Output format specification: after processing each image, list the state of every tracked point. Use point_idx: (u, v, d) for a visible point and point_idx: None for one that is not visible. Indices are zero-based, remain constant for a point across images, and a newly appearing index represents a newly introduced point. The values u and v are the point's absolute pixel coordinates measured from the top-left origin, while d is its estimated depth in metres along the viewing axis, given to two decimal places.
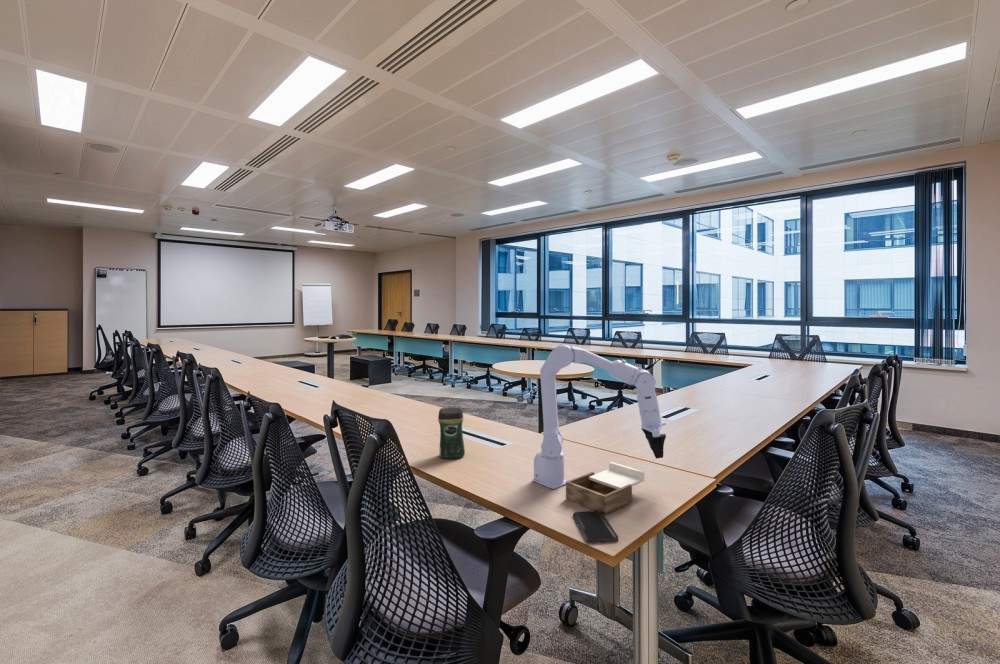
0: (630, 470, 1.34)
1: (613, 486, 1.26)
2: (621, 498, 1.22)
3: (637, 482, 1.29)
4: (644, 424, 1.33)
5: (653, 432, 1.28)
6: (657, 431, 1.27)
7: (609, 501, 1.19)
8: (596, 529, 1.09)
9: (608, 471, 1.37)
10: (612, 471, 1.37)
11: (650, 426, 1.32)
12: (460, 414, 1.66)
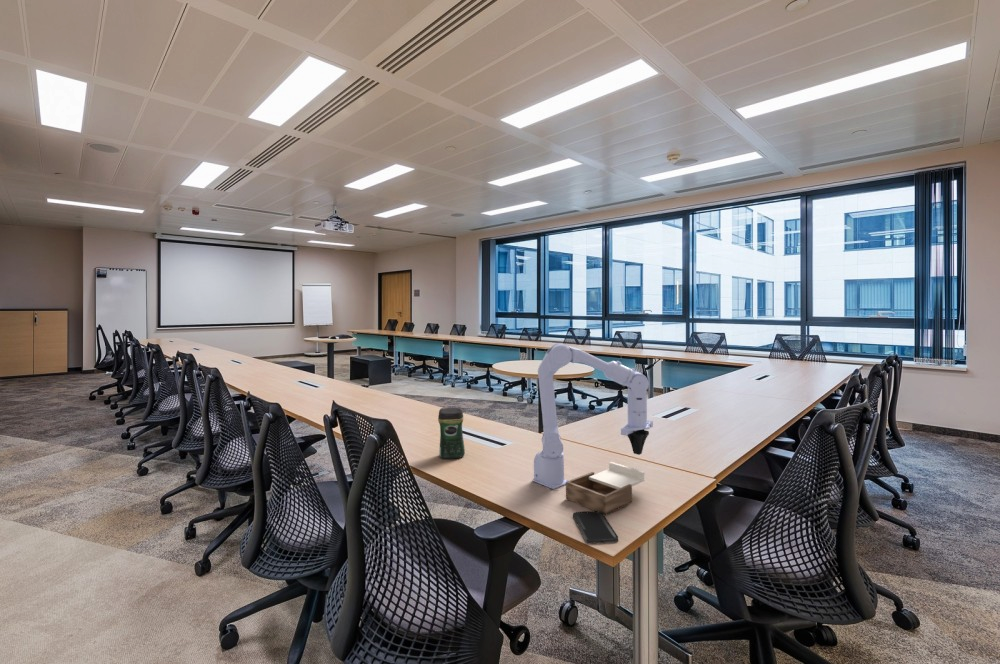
0: (630, 470, 1.34)
1: (613, 486, 1.26)
2: (621, 498, 1.22)
3: (637, 482, 1.29)
4: None
5: (621, 430, 1.34)
6: (624, 430, 1.34)
7: (609, 501, 1.19)
8: (596, 529, 1.09)
9: (608, 471, 1.37)
10: (612, 471, 1.37)
11: (629, 425, 1.37)
12: (460, 414, 1.66)
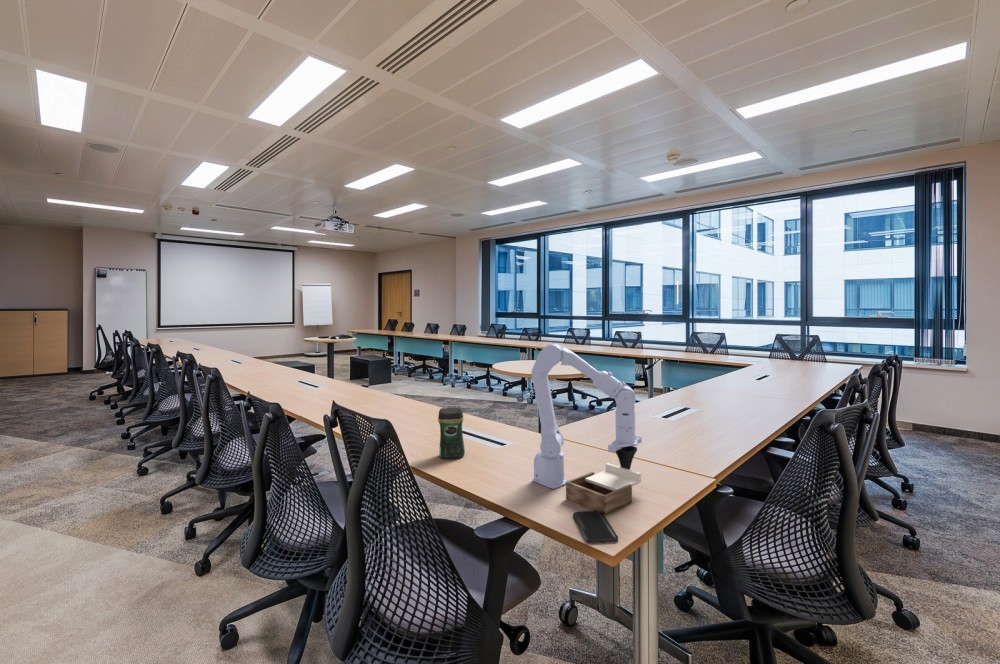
0: (627, 471, 1.32)
1: (609, 488, 1.25)
2: (621, 498, 1.22)
3: (634, 484, 1.28)
4: None
5: (608, 446, 1.31)
6: (612, 447, 1.30)
7: (609, 501, 1.19)
8: (596, 529, 1.09)
9: (605, 472, 1.36)
10: (609, 472, 1.36)
11: (617, 441, 1.34)
12: (460, 414, 1.66)
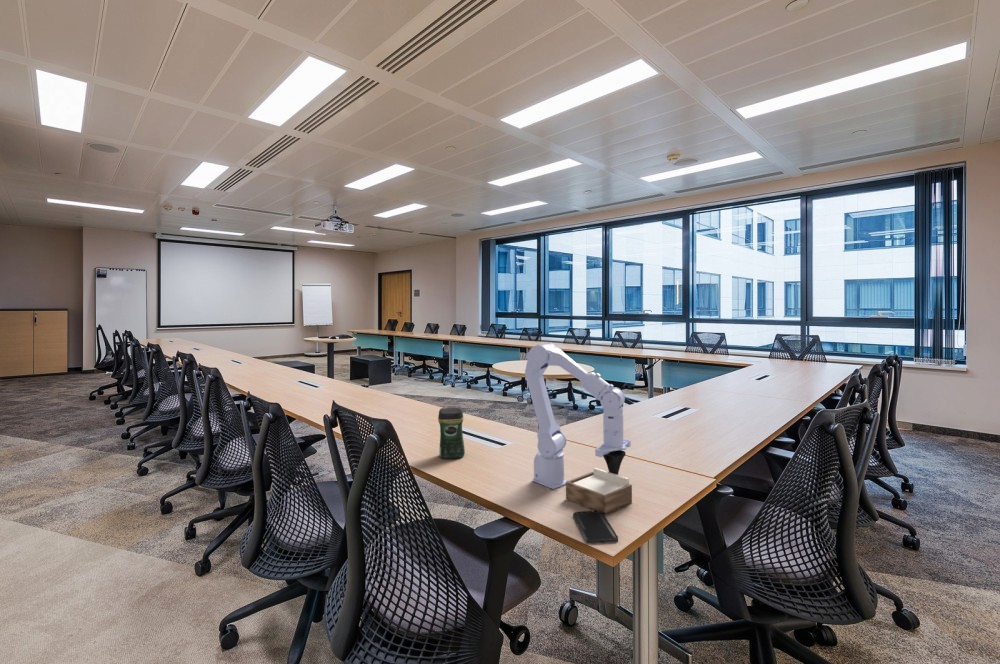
0: (614, 477, 1.29)
1: None
2: (621, 498, 1.22)
3: None
4: None
5: (596, 451, 1.27)
6: (599, 451, 1.26)
7: (609, 501, 1.19)
8: (596, 529, 1.09)
9: (592, 477, 1.33)
10: (596, 477, 1.32)
11: (605, 445, 1.30)
12: (460, 414, 1.66)
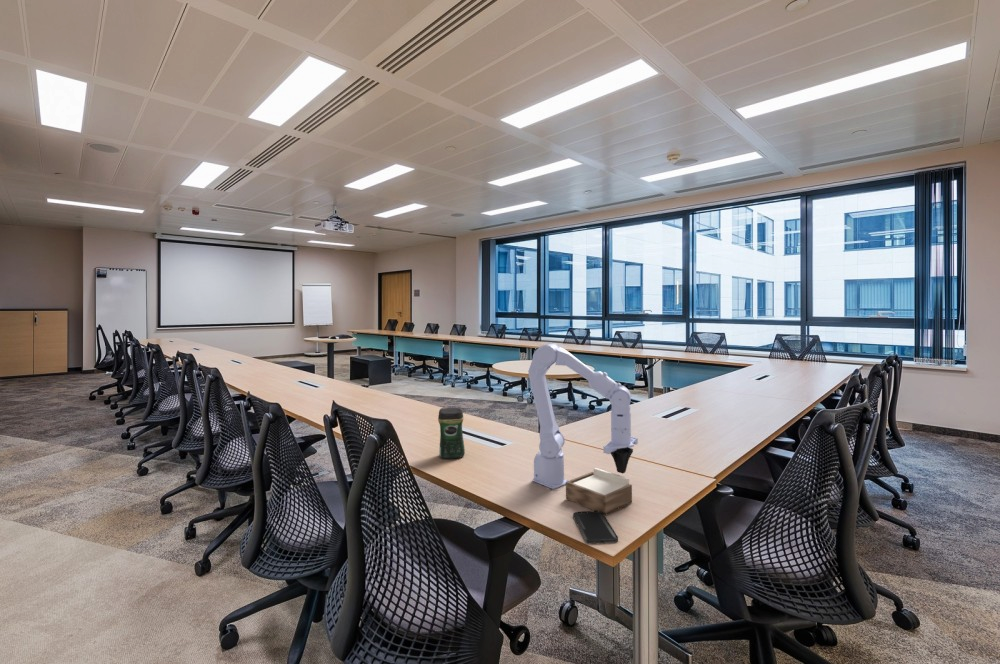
0: (614, 477, 1.29)
1: None
2: (621, 498, 1.22)
3: None
4: (611, 439, 1.34)
5: (604, 448, 1.29)
6: (607, 448, 1.28)
7: (609, 501, 1.19)
8: (596, 529, 1.09)
9: (592, 477, 1.33)
10: (596, 477, 1.32)
11: (613, 443, 1.32)
12: (460, 414, 1.66)
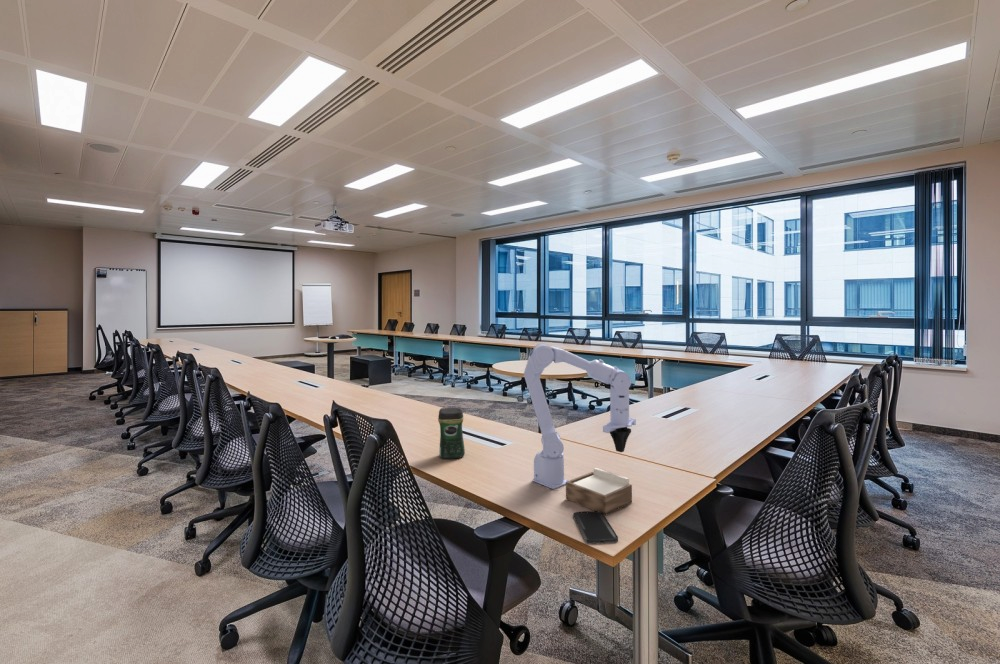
0: (614, 477, 1.29)
1: None
2: (621, 498, 1.22)
3: None
4: (610, 420, 1.40)
5: (603, 427, 1.35)
6: (606, 428, 1.34)
7: (609, 501, 1.19)
8: (596, 529, 1.09)
9: (592, 477, 1.33)
10: (596, 477, 1.32)
11: (612, 423, 1.38)
12: (460, 414, 1.66)
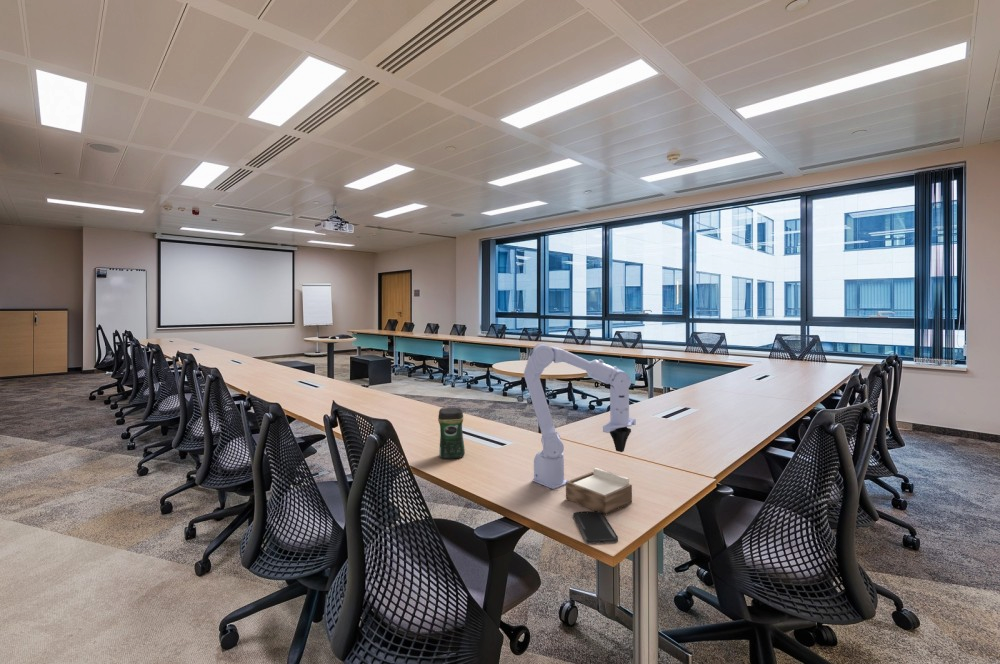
0: (614, 477, 1.29)
1: None
2: (621, 498, 1.22)
3: None
4: (610, 420, 1.40)
5: (603, 427, 1.35)
6: (606, 428, 1.34)
7: (609, 501, 1.19)
8: (596, 529, 1.09)
9: (592, 477, 1.33)
10: (596, 477, 1.32)
11: (612, 423, 1.38)
12: (460, 414, 1.66)
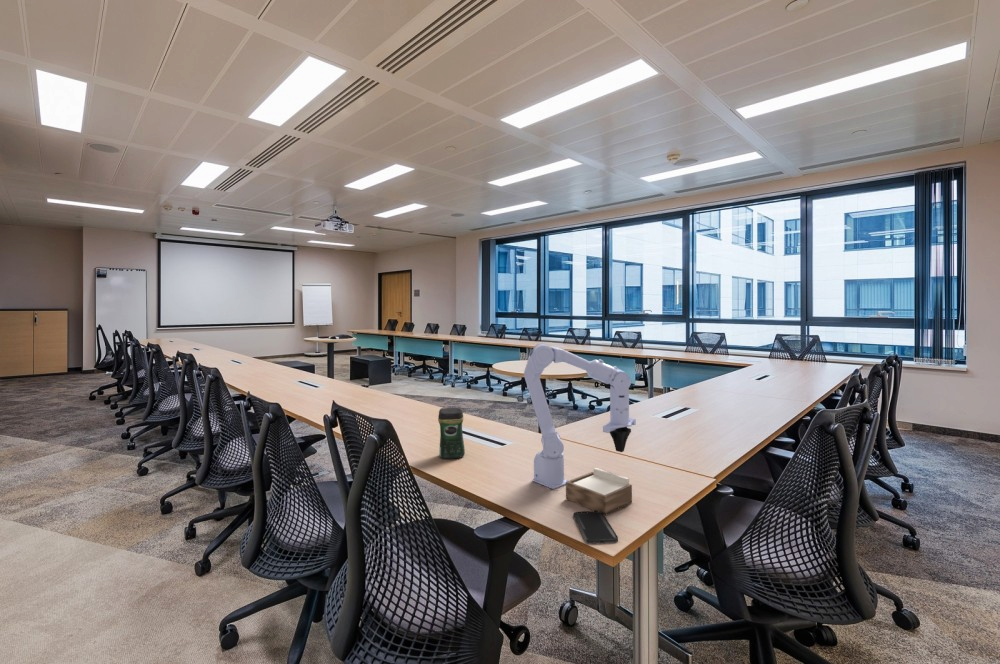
0: (614, 477, 1.29)
1: None
2: (621, 498, 1.22)
3: None
4: (610, 420, 1.40)
5: (603, 427, 1.35)
6: (606, 428, 1.34)
7: (609, 501, 1.19)
8: (596, 529, 1.09)
9: (592, 477, 1.33)
10: (596, 477, 1.32)
11: (612, 423, 1.38)
12: (460, 414, 1.66)
